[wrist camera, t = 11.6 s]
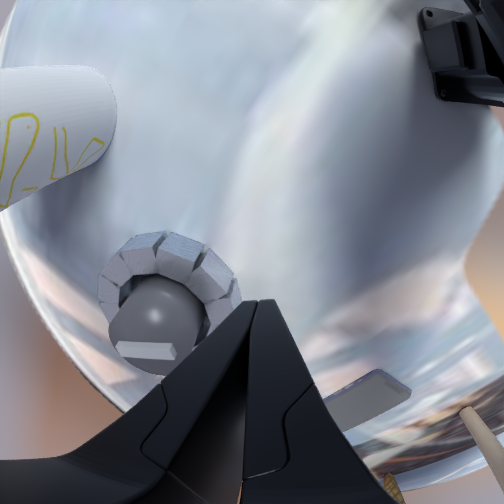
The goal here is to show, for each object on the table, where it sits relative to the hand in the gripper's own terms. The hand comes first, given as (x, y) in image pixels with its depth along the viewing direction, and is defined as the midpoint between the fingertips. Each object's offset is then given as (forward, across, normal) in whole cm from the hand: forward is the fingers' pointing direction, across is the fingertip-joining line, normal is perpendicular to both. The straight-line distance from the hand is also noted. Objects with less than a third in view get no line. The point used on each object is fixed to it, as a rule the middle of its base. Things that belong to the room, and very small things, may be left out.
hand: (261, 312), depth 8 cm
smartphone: (+13, -4, +26) cm, 29 cm away
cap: (+13, +10, +8) cm, 18 cm away
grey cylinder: (+13, +14, -8) cm, 21 cm away
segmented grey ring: (+12, +10, +8) cm, 18 cm away
